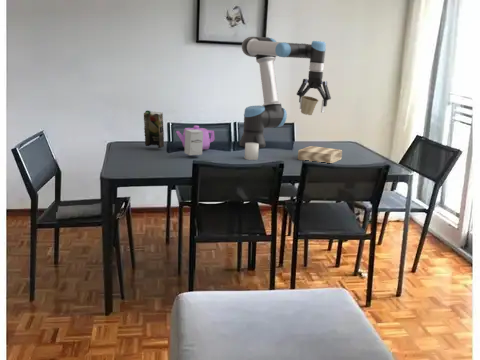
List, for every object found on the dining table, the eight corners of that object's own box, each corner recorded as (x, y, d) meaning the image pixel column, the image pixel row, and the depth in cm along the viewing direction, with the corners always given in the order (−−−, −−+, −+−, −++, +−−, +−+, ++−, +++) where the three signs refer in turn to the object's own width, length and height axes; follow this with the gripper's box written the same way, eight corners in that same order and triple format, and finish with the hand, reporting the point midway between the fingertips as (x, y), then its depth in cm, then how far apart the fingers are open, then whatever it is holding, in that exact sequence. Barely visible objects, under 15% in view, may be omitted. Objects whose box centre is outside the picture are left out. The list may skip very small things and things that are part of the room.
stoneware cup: (241, 158, 296) (242, 143, 295) (249, 156, 302) (250, 141, 300) (252, 160, 292) (253, 145, 291) (260, 159, 298) (261, 143, 296)
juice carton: (159, 112, 307) (164, 110, 313) (142, 110, 310) (148, 109, 316) (160, 148, 313) (165, 146, 319) (144, 146, 316) (149, 144, 322)
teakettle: (216, 147, 325) (217, 125, 322) (200, 151, 310) (201, 128, 308) (191, 143, 333) (191, 122, 330) (174, 147, 318) (174, 125, 315)
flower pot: (313, 117, 308) (317, 102, 305) (296, 113, 309) (300, 97, 306) (315, 114, 316) (319, 99, 313) (299, 109, 318) (302, 94, 315)
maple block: (297, 159, 302) (298, 150, 300) (310, 154, 317) (310, 145, 316) (330, 164, 293) (331, 154, 292) (341, 159, 309) (342, 150, 308)
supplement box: (189, 155, 297) (190, 131, 294) (184, 153, 303) (184, 129, 300) (202, 155, 300) (203, 131, 297) (197, 152, 306) (197, 129, 304)
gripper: (292, 68, 309) (289, 107, 315) (332, 73, 295) (328, 114, 300) (300, 68, 315) (296, 107, 320) (340, 73, 300) (335, 113, 306)
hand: (311, 110), depth 310 cm, fingers open, 13 cm apart
